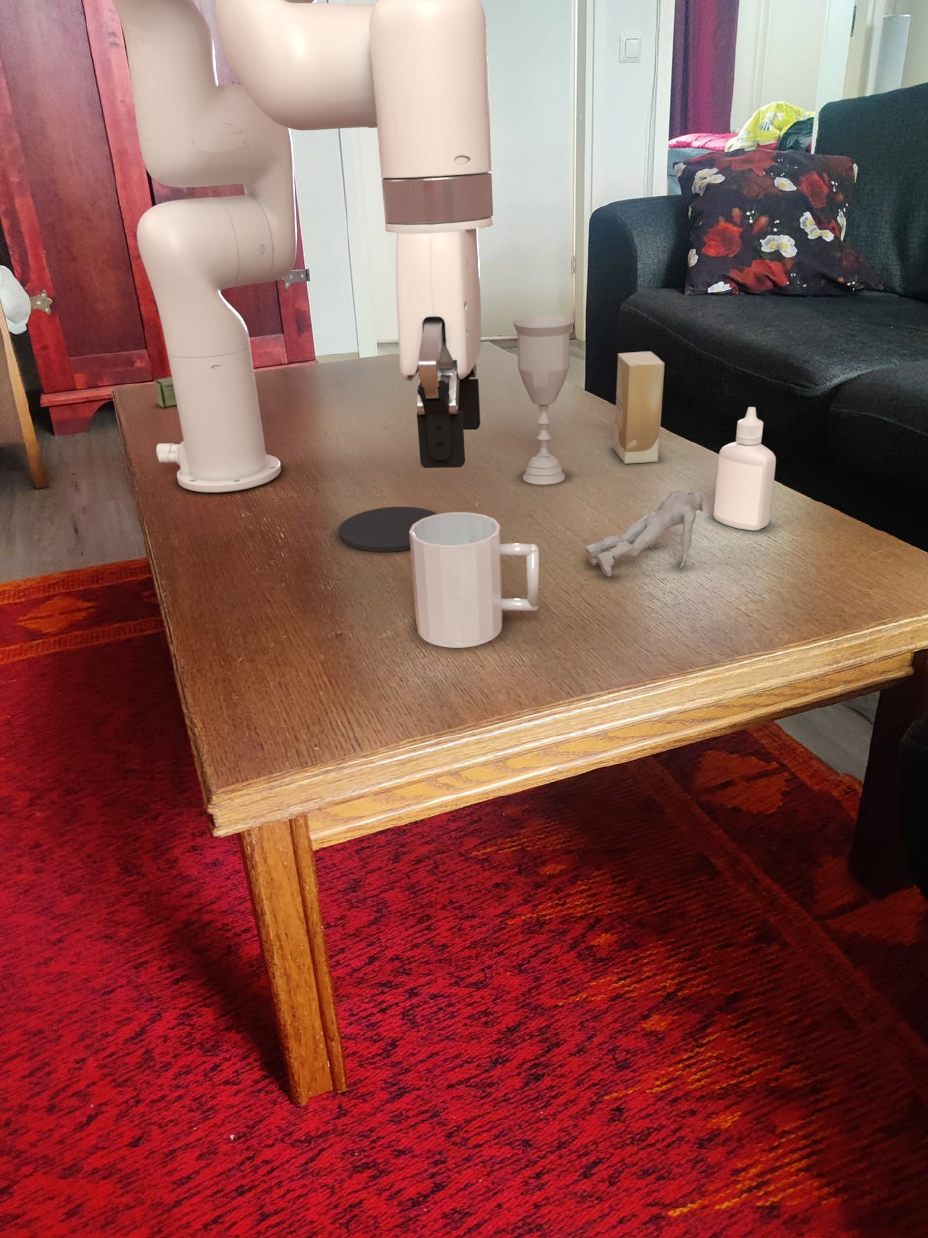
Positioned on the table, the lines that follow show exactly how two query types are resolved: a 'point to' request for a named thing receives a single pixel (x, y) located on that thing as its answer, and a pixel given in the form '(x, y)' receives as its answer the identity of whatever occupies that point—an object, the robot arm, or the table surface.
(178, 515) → the table surface
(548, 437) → the chalice
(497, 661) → the table surface
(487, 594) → the coffee mug
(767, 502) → the eye dropper bottle
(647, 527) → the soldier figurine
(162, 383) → the medication box
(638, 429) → the cosmetic box
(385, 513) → the coaster
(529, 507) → the table surface
